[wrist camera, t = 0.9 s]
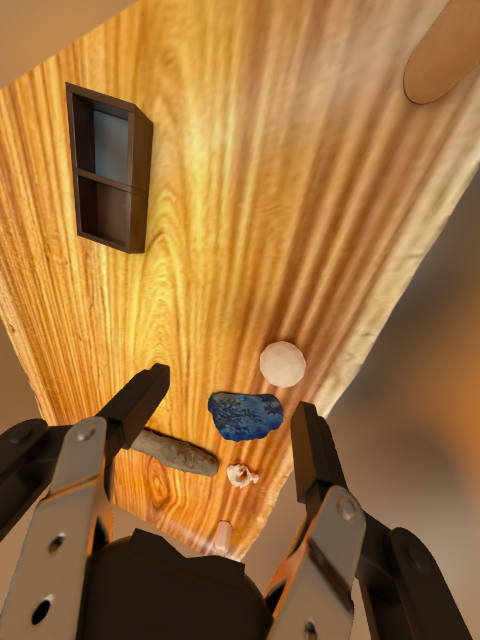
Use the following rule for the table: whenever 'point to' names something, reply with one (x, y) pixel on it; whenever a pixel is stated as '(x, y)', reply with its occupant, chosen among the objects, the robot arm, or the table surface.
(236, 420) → the rock
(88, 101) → the box
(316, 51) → the table surface
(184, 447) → the long grey stone
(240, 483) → the pelvis model
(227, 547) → the pepper shaker
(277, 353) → the geometric ball
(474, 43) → the candle
